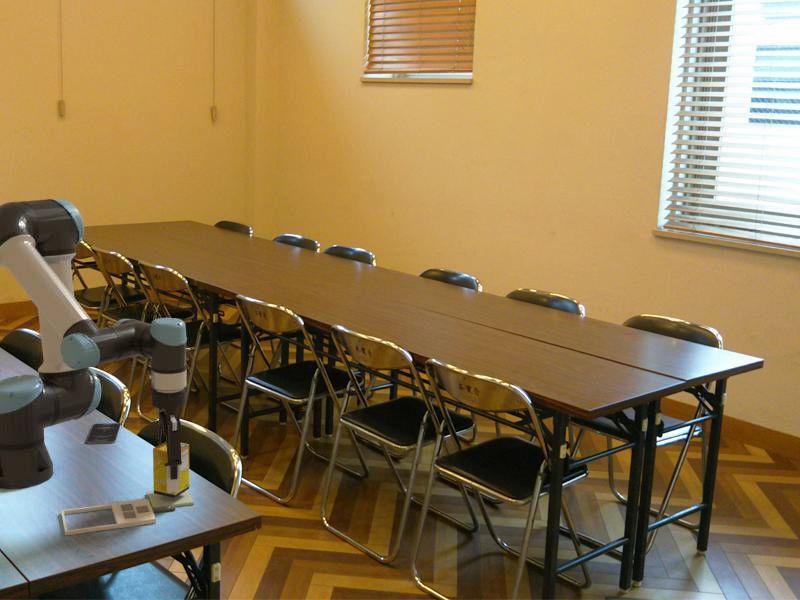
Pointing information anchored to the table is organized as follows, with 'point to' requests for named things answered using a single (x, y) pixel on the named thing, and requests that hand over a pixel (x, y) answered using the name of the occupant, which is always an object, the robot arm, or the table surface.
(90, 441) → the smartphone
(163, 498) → the mat
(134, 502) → the white rectangular frame panel
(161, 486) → the supplement box
